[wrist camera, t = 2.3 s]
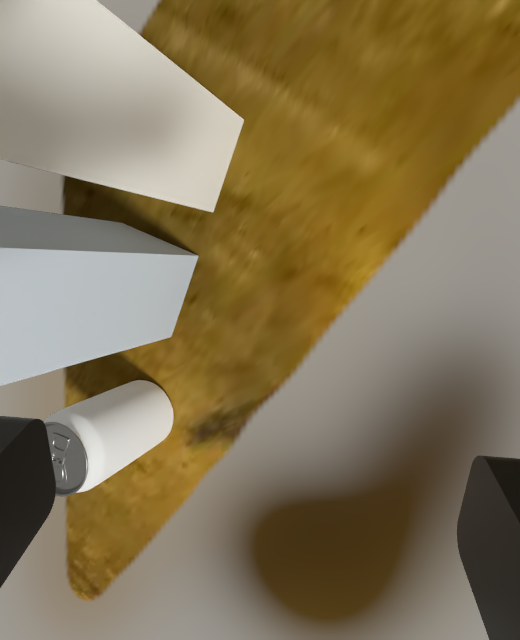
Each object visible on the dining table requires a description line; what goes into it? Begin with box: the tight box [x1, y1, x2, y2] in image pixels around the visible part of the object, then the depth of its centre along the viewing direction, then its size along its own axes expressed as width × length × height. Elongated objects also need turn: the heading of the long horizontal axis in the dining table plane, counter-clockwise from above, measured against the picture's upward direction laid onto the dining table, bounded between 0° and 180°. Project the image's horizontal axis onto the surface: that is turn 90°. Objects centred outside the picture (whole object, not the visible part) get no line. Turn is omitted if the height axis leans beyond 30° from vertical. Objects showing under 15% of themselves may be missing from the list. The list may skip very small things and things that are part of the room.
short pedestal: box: [0, 206, 198, 386], centre depth 34 cm, size 8×8×22 cm
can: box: [44, 380, 173, 497], centre depth 40 cm, size 6×6×12 cm
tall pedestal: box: [0, 0, 244, 212], centre depth 26 cm, size 8×9×32 cm
